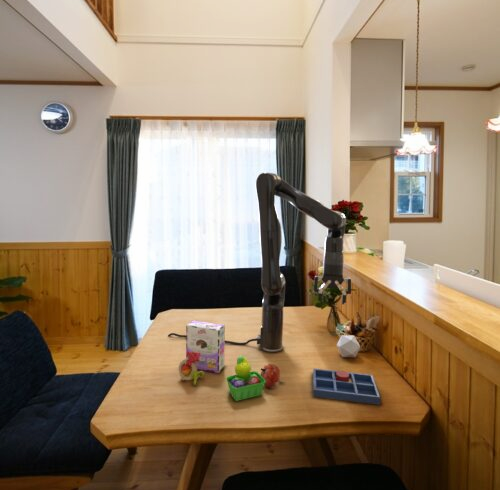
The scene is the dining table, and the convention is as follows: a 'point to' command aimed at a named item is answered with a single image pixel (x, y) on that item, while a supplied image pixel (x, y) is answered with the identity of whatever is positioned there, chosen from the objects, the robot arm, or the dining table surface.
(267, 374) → the pomegranate
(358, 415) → the dining table surface
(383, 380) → the dining table surface
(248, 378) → the fruit basket
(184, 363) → the bird rattle
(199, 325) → the candy box
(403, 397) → the dining table surface
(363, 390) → the grid
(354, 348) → the die
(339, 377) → the short red cylinder
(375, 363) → the dining table surface
